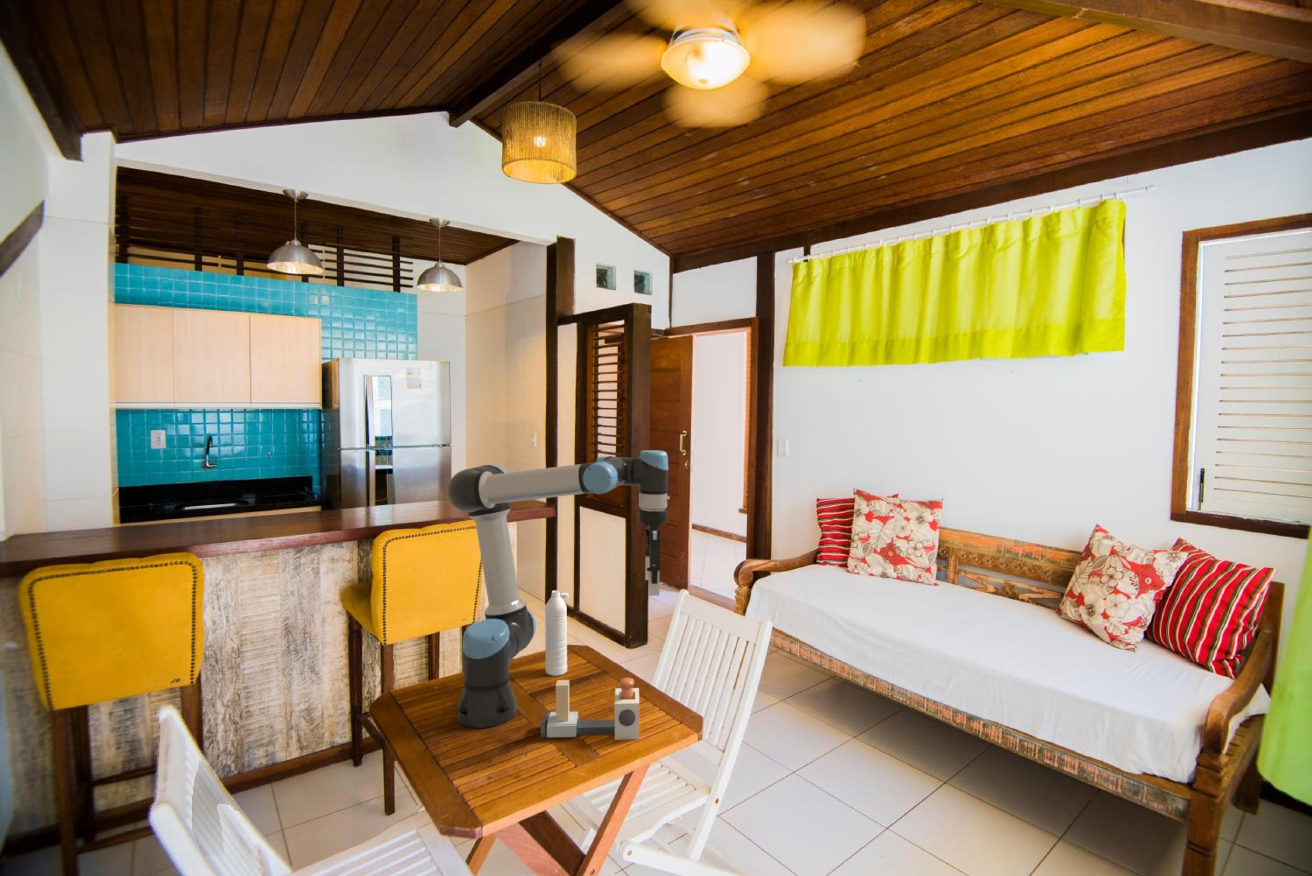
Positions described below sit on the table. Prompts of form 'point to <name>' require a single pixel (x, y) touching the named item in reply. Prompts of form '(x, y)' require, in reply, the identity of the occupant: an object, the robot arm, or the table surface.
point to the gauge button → (626, 688)
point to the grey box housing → (626, 716)
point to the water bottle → (556, 634)
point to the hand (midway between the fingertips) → (651, 587)
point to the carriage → (562, 714)
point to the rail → (584, 727)
